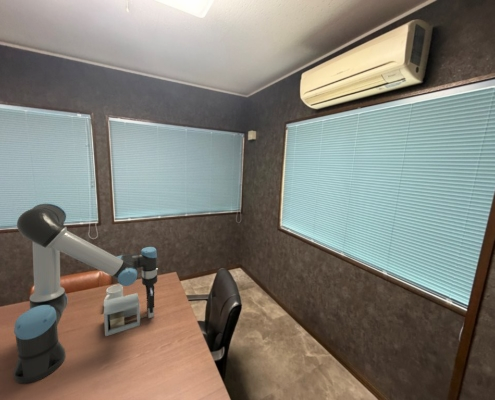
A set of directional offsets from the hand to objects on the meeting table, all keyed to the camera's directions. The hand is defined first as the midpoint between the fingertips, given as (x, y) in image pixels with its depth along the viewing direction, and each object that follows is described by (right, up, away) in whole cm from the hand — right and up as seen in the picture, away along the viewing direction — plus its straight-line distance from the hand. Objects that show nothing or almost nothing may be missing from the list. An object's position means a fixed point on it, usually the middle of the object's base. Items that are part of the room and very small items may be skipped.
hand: (150, 314), depth 120 cm
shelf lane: (-11, -1, -7) cm, 13 cm away
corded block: (-7, -1, -4) cm, 9 cm away
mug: (-25, +2, +6) cm, 25 cm away
